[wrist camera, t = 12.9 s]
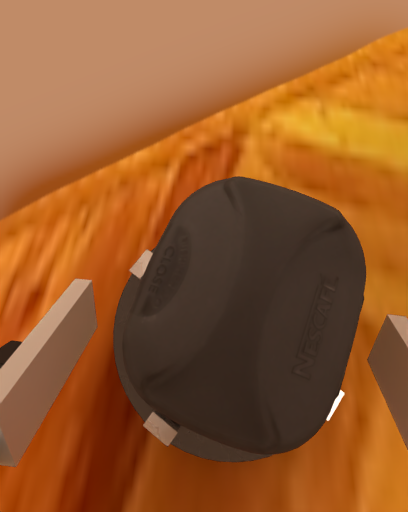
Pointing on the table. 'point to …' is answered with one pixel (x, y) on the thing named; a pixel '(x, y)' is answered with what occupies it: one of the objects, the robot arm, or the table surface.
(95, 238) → the table surface
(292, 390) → the coffee jar
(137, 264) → the lug base plate
